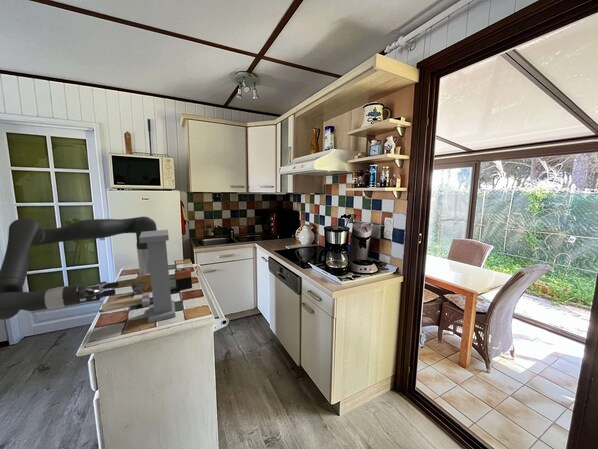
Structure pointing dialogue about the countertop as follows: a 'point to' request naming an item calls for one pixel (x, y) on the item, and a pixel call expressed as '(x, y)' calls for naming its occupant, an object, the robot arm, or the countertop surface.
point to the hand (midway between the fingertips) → (116, 288)
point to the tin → (142, 284)
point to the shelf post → (158, 275)
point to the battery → (183, 278)
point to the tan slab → (128, 302)
